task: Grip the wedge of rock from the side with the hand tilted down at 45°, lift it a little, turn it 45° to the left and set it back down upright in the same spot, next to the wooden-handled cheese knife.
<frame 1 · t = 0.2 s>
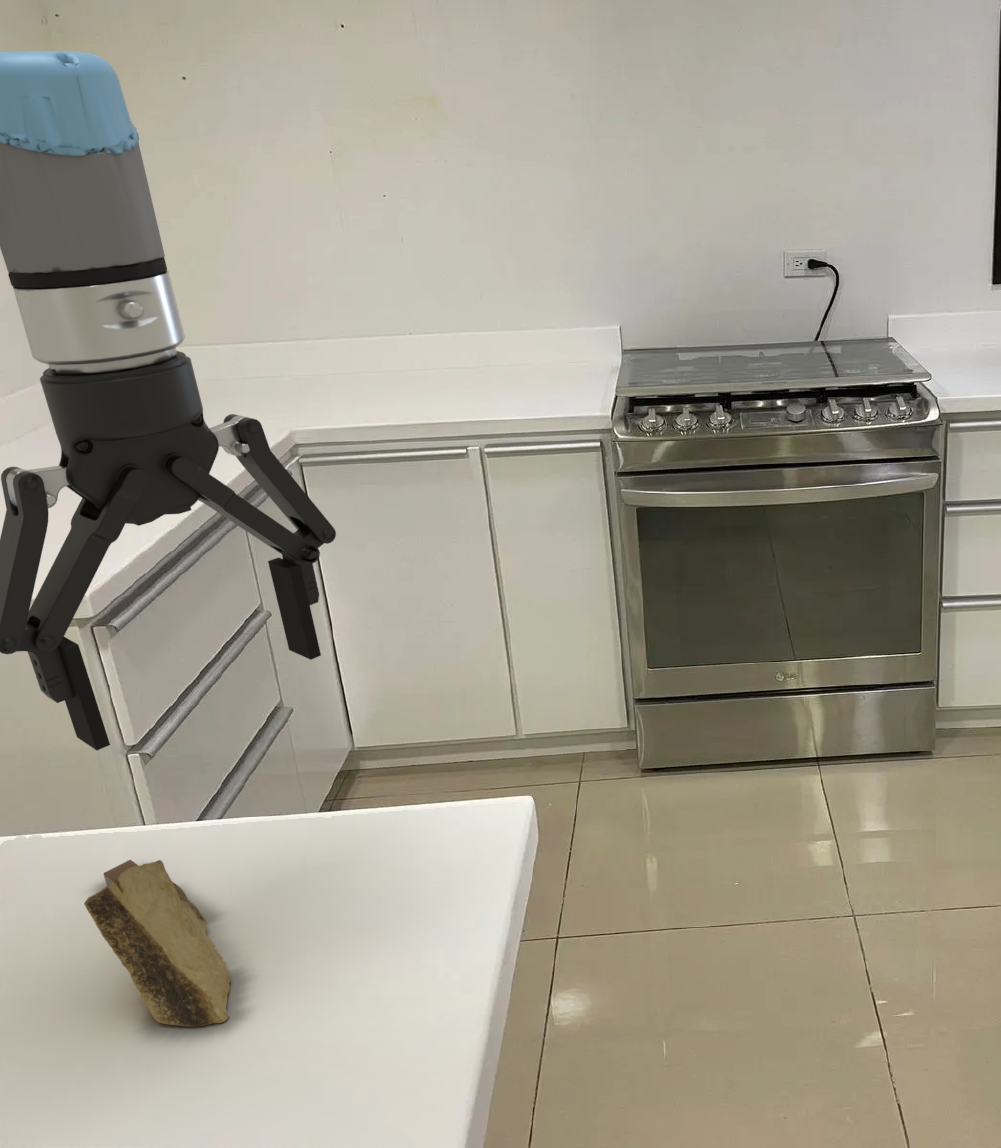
hand: (206, 694, 70), 18 cm above the countertop, tool pointing down, fingers open, 13 cm apart
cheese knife: (152, 903, 81), on the countertop
rock: (195, 974, 74), on the countertop, touching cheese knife
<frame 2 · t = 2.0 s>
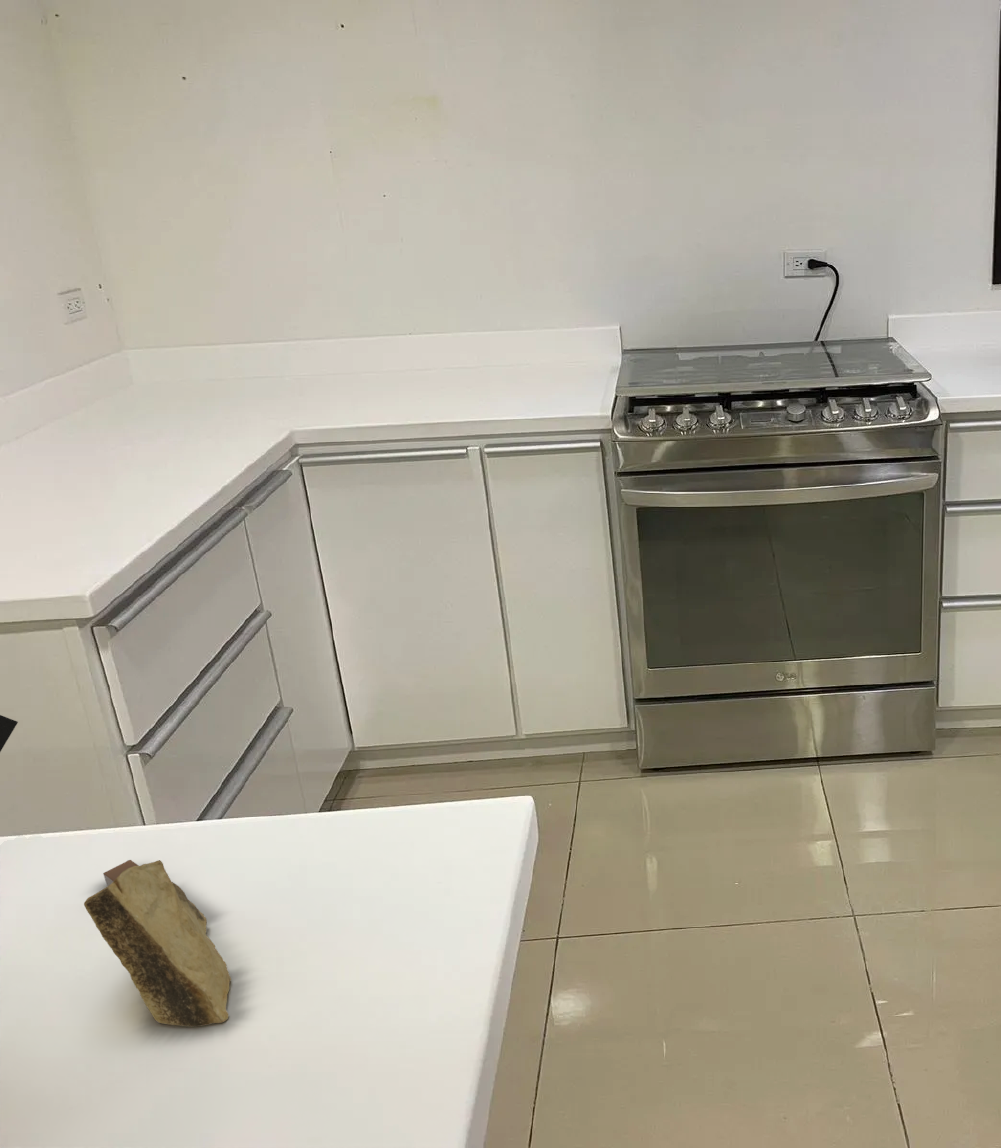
nothing on the countertop moved.
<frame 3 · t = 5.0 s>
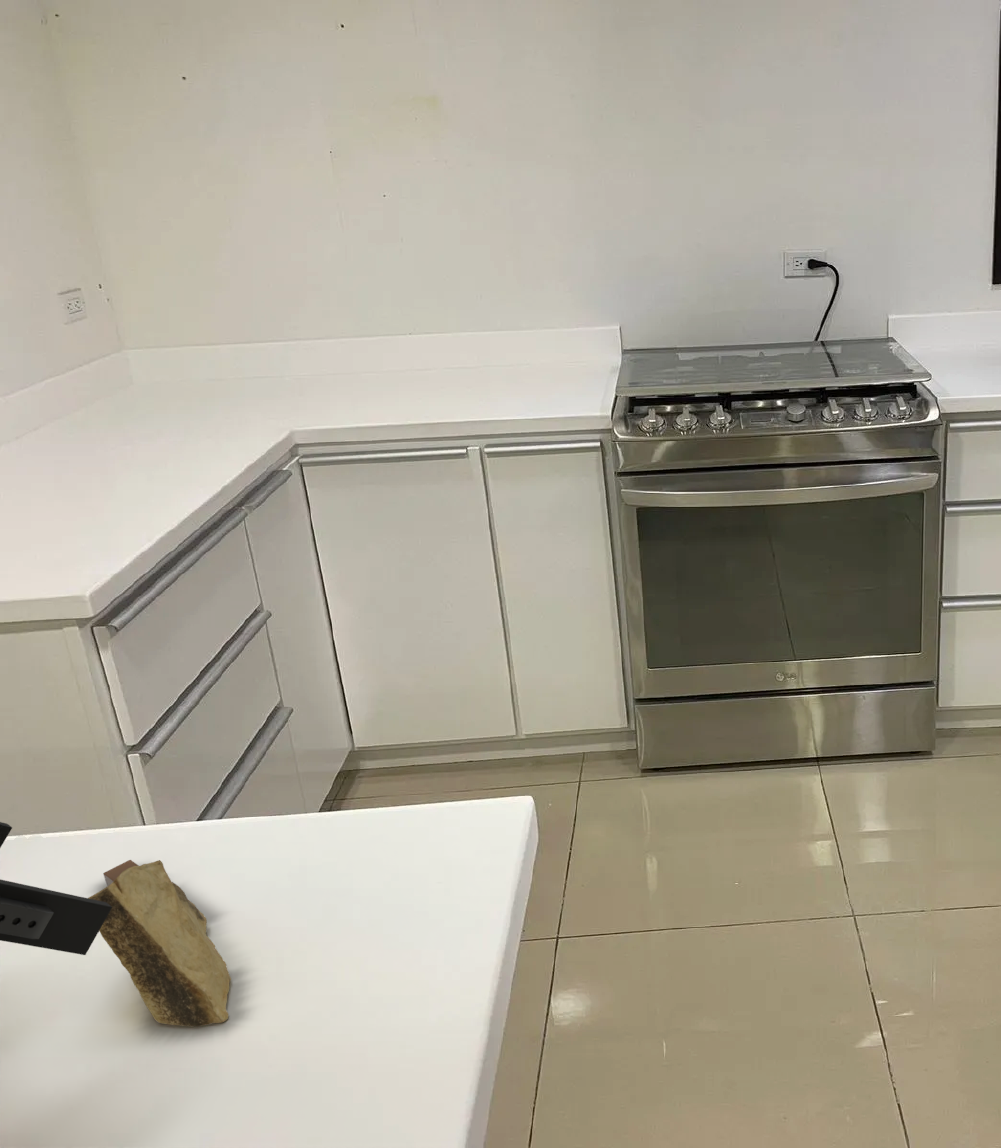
hand: (44, 885, 65), 11 cm above the countertop, tool tilted 45°, fingers open, 13 cm apart
nothing on the countertop moved.
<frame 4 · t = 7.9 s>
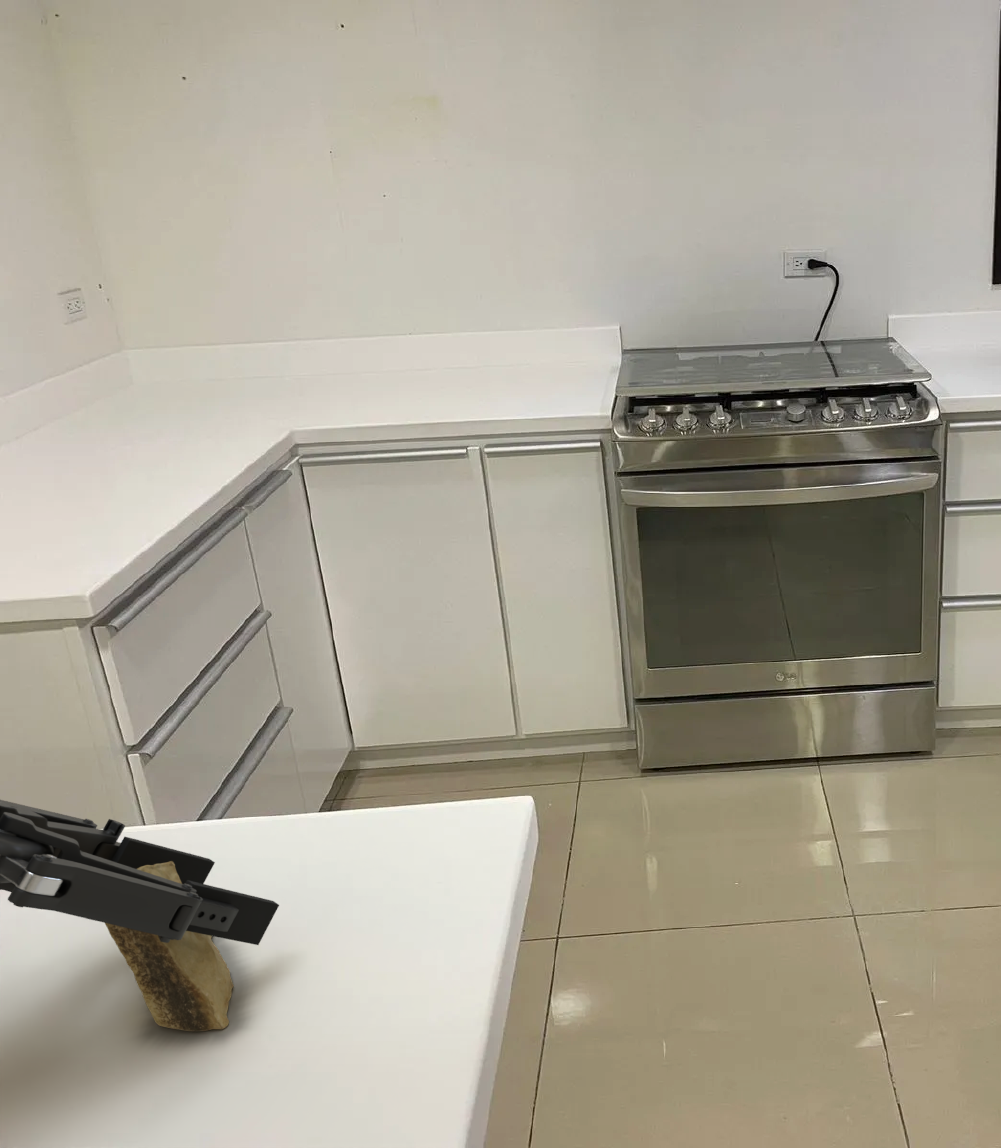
hand: (232, 900, 75), 4 cm above the countertop, tool tilted 45°, fingers closed on rock, 7 cm apart
rock: (198, 979, 73), on the countertop, touching gripper
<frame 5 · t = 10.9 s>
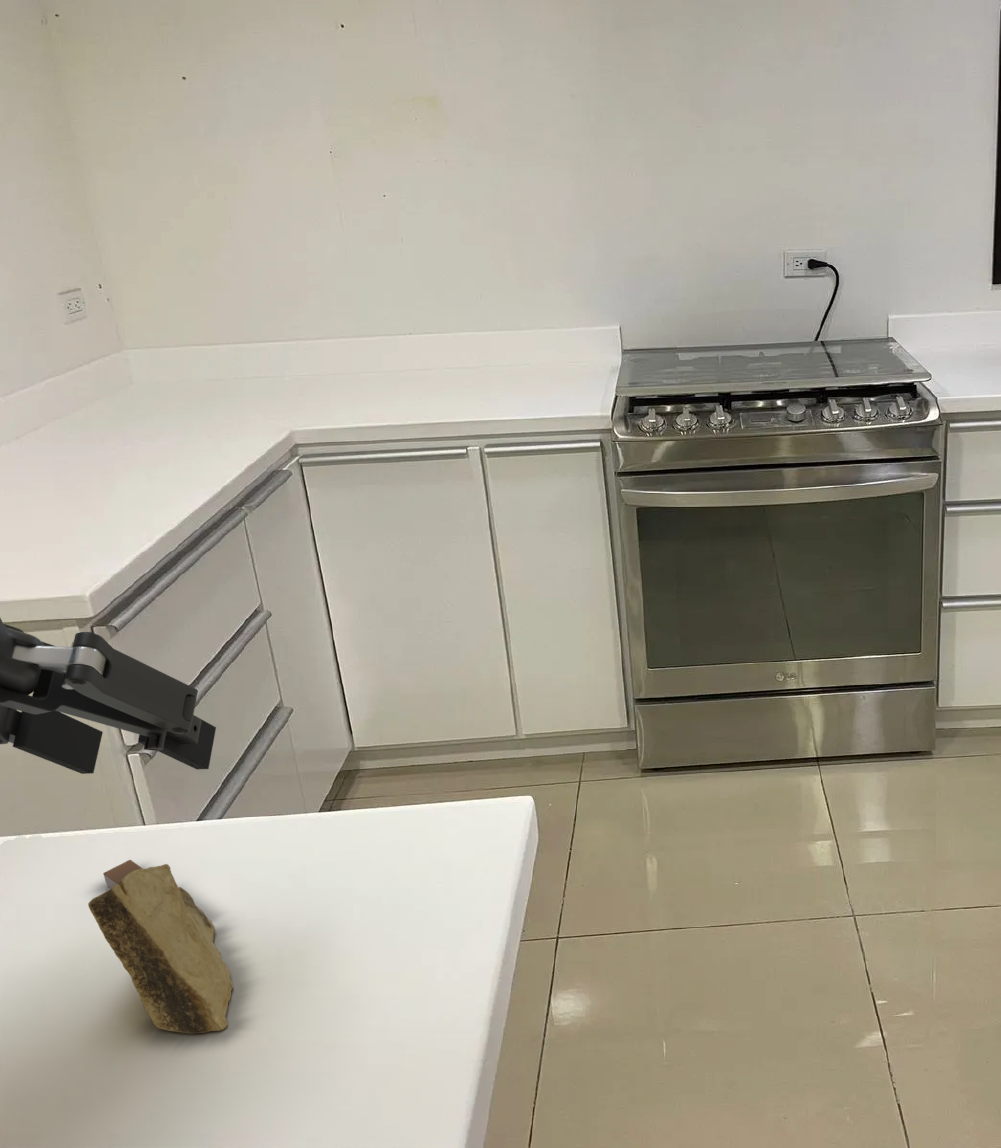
hand: (149, 750, 71), 15 cm above the countertop, tool tilted 45°, fingers open, 7 cm apart
rock: (199, 981, 73), on the countertop
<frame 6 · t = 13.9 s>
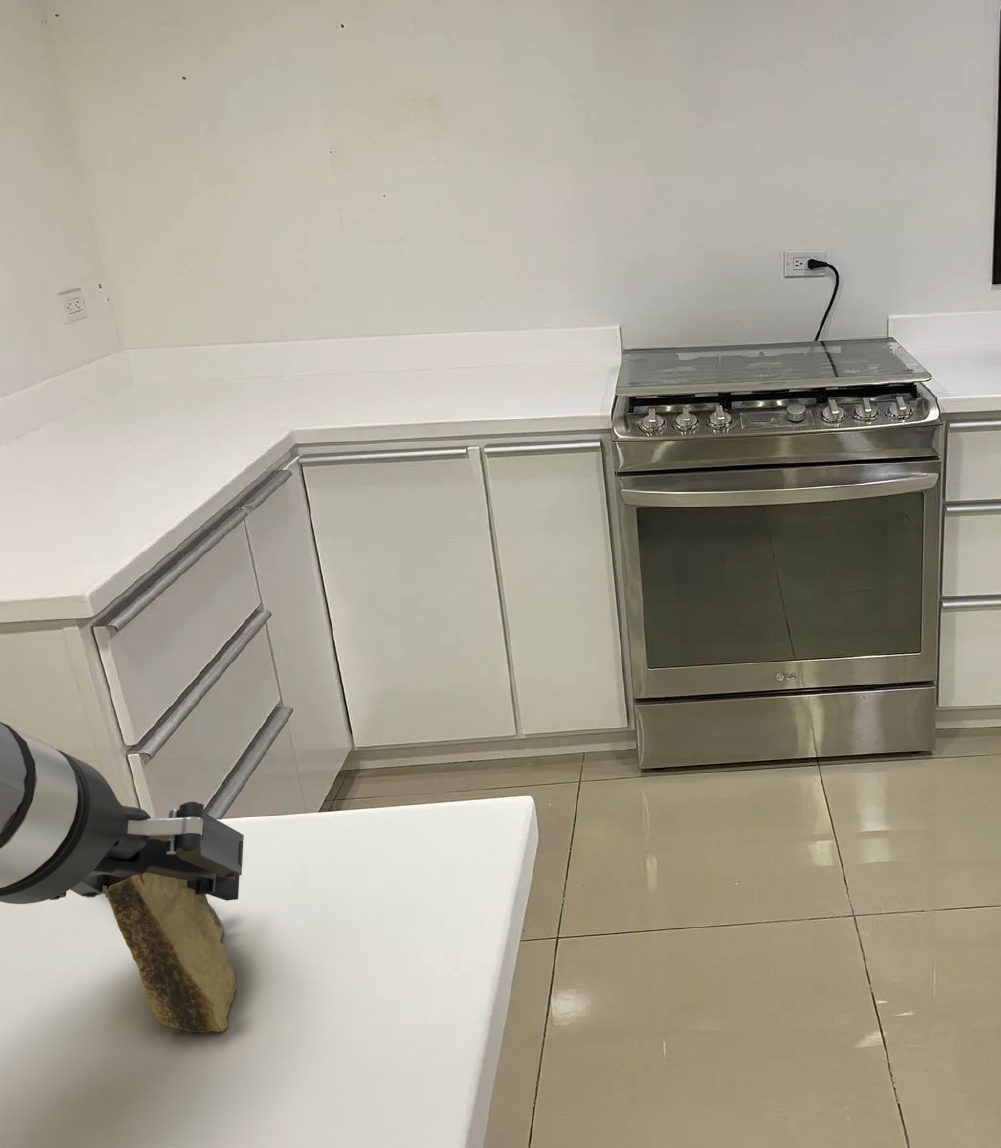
hand: (196, 883, 76), 4 cm above the countertop, tool tilted 45°, fingers closed on rock, 4 cm apart
rock: (203, 979, 73), on the countertop, touching gripper
when the fingers open (4 cm above the countertop, at t = 13.9 s): rock stays where it is, on the countertop.
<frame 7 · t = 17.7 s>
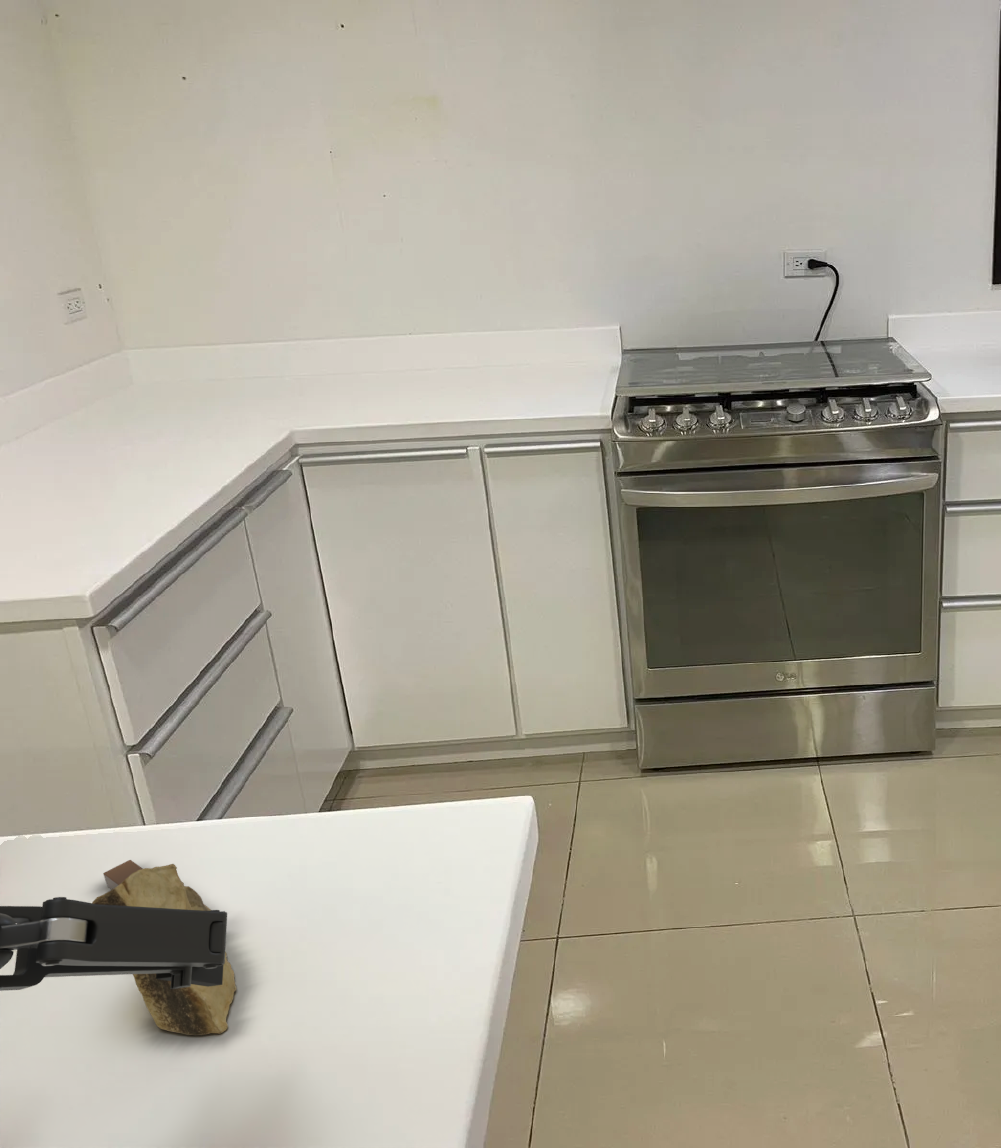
hand: (86, 976, 61), 9 cm above the countertop, tool tilted 45°, fingers open, 13 cm apart
rock: (204, 981, 73), on the countertop
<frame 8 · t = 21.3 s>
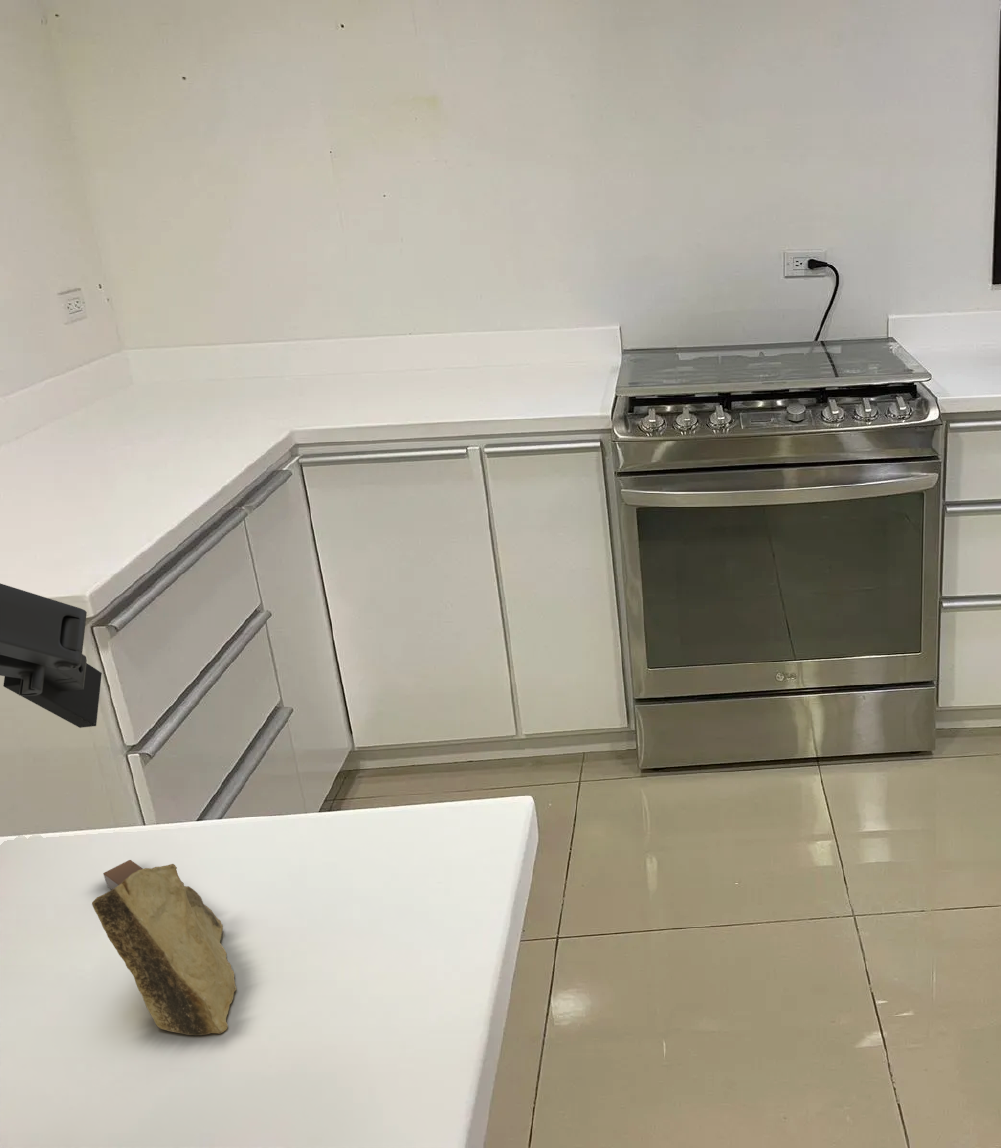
nothing on the countertop moved.
at the end: rock inside the target area (0.9 cm from its centre), on the countertop; rock tilted 0°; the gripper is holding nothing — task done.
